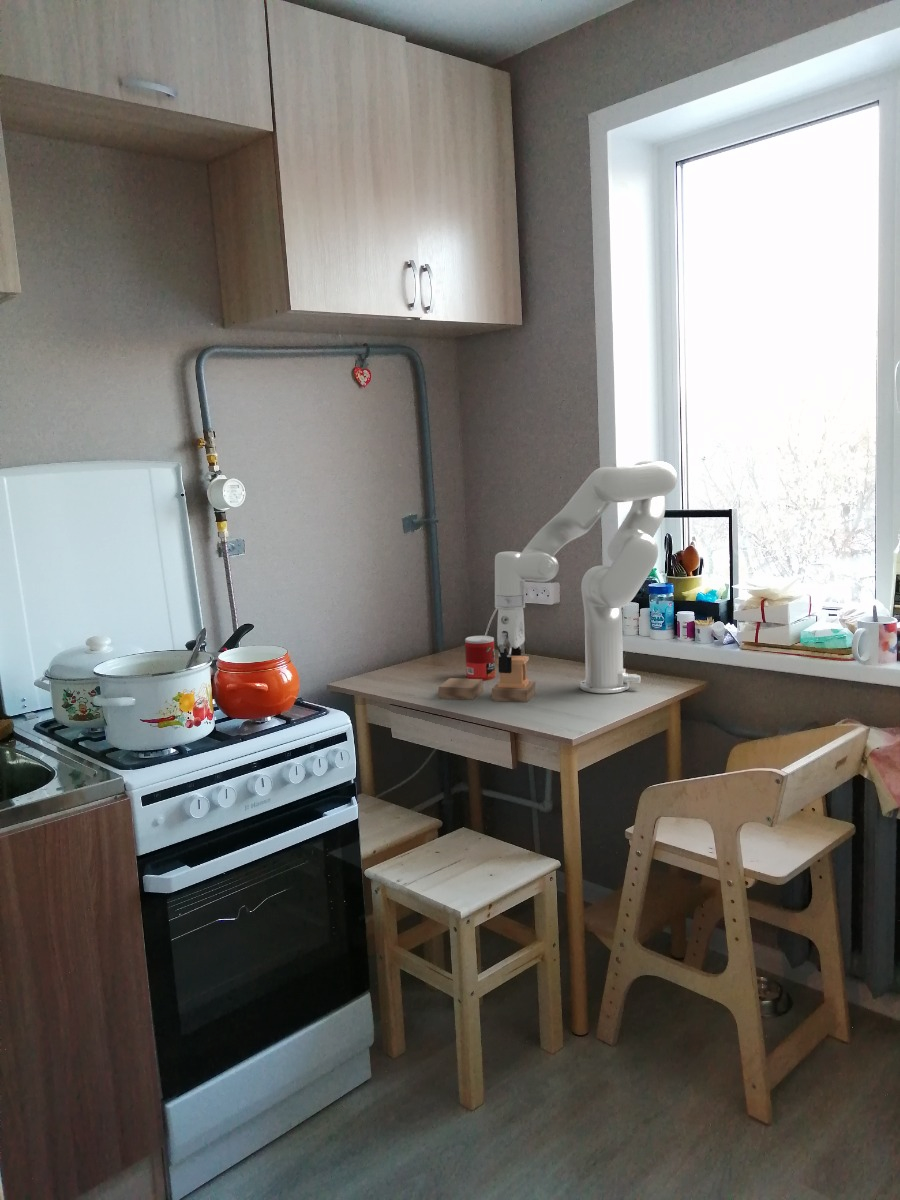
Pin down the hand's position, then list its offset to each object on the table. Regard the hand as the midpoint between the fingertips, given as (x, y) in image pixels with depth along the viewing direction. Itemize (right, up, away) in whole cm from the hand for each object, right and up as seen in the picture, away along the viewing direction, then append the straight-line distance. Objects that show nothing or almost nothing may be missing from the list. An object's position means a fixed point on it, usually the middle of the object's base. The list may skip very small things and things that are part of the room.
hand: (510, 668), depth 239 cm
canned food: (-7, -4, +23) cm, 24 cm away
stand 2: (+1, -7, +1) cm, 7 cm away
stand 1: (-12, -7, +6) cm, 15 cm away
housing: (+1, -4, +1) cm, 4 cm away
